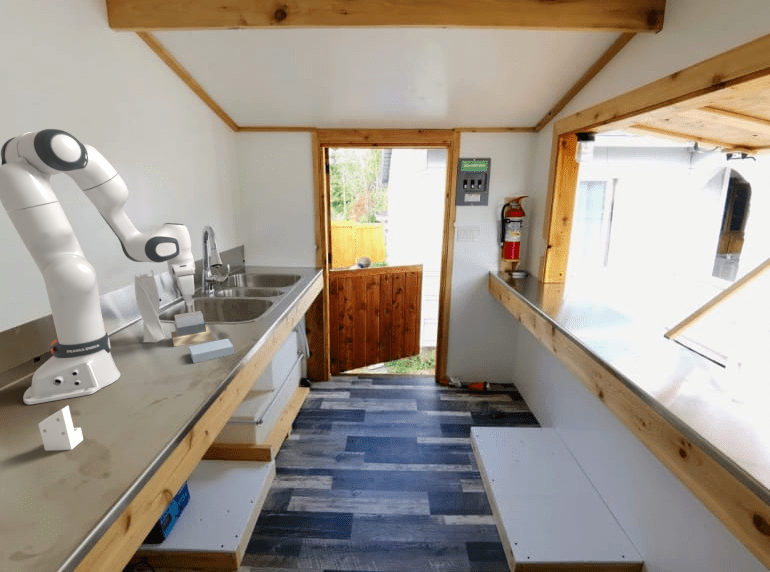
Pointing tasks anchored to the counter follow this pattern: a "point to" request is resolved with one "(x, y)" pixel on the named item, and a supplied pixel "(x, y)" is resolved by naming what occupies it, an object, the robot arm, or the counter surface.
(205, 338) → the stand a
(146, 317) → the skyscraper
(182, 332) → the block
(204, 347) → the stand
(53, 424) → the white angled block
